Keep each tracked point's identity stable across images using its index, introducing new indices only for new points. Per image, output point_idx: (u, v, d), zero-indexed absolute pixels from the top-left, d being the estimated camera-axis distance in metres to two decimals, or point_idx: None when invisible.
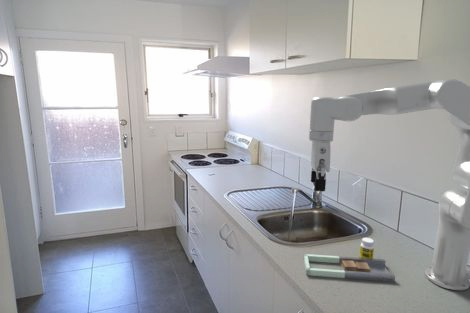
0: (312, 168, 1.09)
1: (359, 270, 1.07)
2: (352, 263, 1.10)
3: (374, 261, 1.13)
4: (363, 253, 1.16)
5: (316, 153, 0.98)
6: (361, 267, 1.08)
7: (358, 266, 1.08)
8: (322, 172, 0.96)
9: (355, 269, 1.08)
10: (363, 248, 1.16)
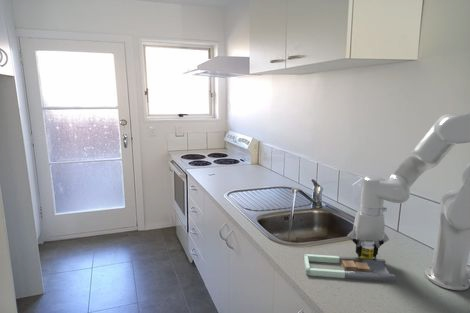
0: (360, 244, 1.16)
1: (359, 270, 1.07)
2: (352, 263, 1.10)
3: (374, 261, 1.13)
4: (363, 253, 1.16)
5: (384, 225, 1.13)
6: (361, 267, 1.08)
7: (358, 266, 1.08)
8: None
9: (355, 269, 1.08)
10: (363, 247, 1.16)
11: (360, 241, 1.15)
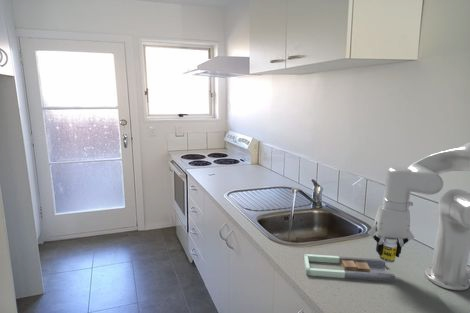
0: (382, 241, 1.05)
1: (359, 270, 1.07)
2: (352, 263, 1.10)
3: (374, 261, 1.13)
4: (385, 252, 1.05)
5: (409, 221, 1.02)
6: (361, 267, 1.08)
7: (358, 266, 1.08)
8: None
9: (355, 269, 1.08)
10: (385, 246, 1.05)
11: (382, 238, 1.05)
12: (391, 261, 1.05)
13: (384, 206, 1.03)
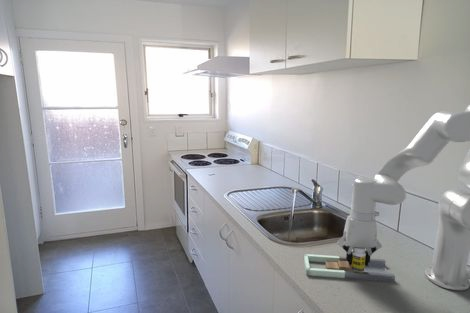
0: (350, 251, 1.07)
1: (341, 268, 1.08)
2: (335, 264, 1.11)
3: (374, 261, 1.13)
4: (354, 261, 1.07)
5: (376, 231, 1.04)
6: (342, 266, 1.08)
7: (340, 265, 1.09)
8: None
9: None
10: (354, 255, 1.07)
11: (351, 248, 1.07)
12: (360, 270, 1.07)
13: (351, 216, 1.05)
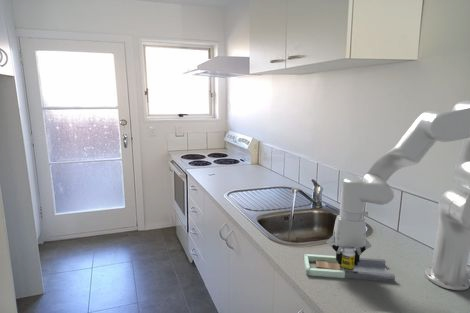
0: (340, 251, 1.08)
1: None
2: (325, 264, 1.12)
3: (374, 261, 1.13)
4: (343, 261, 1.08)
5: (365, 231, 1.05)
6: (331, 268, 1.09)
7: (329, 266, 1.10)
8: None
9: None
10: (343, 255, 1.08)
11: (340, 248, 1.07)
12: (350, 270, 1.08)
13: (340, 216, 1.06)
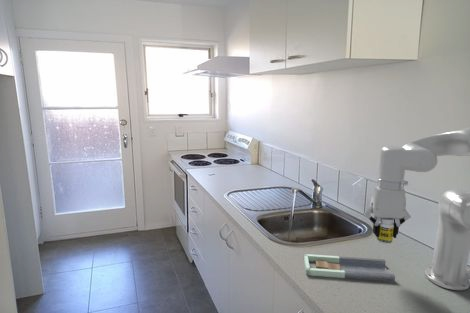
0: (378, 222, 1.04)
1: None
2: (325, 263, 1.12)
3: (374, 261, 1.13)
4: (381, 233, 1.04)
5: (405, 201, 1.01)
6: (331, 268, 1.09)
7: (329, 267, 1.10)
8: None
9: None
10: (381, 226, 1.04)
11: (378, 219, 1.04)
12: (388, 242, 1.04)
13: (379, 186, 1.02)
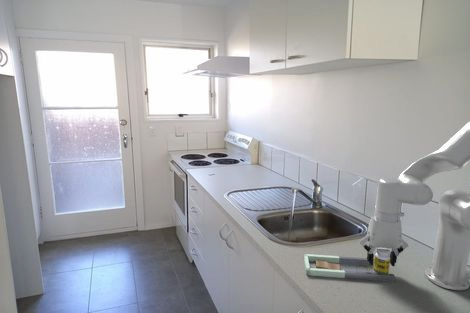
0: (372, 251, 1.06)
1: None
2: (325, 264, 1.12)
3: None
4: (378, 265, 1.07)
5: (401, 232, 1.03)
6: (331, 268, 1.09)
7: (329, 267, 1.10)
8: None
9: None
10: (378, 258, 1.06)
11: (373, 248, 1.06)
12: None
13: (376, 217, 1.04)
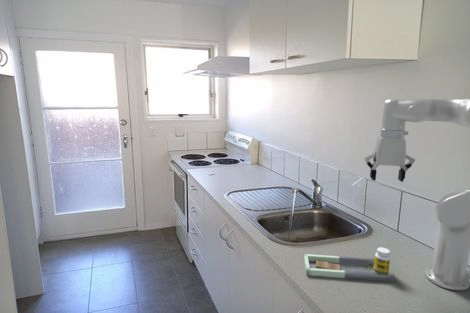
0: (375, 167, 1.14)
1: None
2: (325, 264, 1.12)
3: None
4: (378, 265, 1.07)
5: (405, 149, 1.11)
6: (331, 268, 1.09)
7: (329, 267, 1.10)
8: None
9: None
10: (378, 258, 1.06)
11: (377, 165, 1.14)
12: None
13: (382, 136, 1.12)
